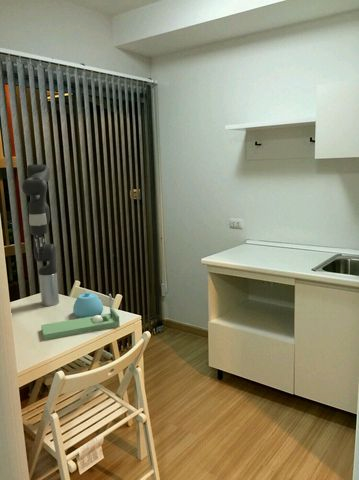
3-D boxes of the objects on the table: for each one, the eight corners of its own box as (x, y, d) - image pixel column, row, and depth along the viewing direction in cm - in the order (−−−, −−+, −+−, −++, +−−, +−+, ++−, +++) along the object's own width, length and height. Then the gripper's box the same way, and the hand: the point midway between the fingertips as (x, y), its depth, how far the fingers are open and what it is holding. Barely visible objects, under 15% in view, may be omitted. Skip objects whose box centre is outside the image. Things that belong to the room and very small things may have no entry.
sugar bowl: (68, 313, 210) (66, 292, 207) (93, 306, 220) (92, 285, 217) (82, 321, 199) (81, 299, 196) (109, 313, 209) (107, 292, 206)
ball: (98, 325, 197) (89, 321, 194) (103, 316, 197) (94, 312, 195) (100, 328, 192) (91, 324, 190) (106, 319, 193) (97, 315, 190)
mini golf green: (41, 330, 190) (40, 319, 189) (113, 317, 203) (112, 308, 202) (44, 340, 179) (43, 329, 178) (119, 326, 192) (119, 316, 191)
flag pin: (110, 317, 196) (108, 293, 194) (111, 317, 197) (110, 293, 194) (112, 320, 193) (110, 296, 191) (113, 319, 194) (112, 295, 191)
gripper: (28, 222, 191) (31, 258, 195) (30, 226, 179) (34, 264, 183) (45, 220, 194) (48, 256, 198) (48, 224, 182) (51, 262, 186)
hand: (41, 260), depth 190 cm, fingers closed
